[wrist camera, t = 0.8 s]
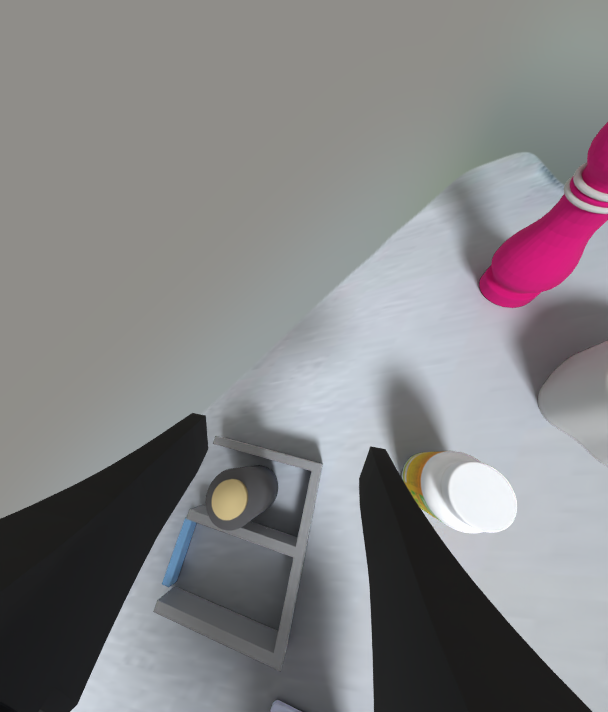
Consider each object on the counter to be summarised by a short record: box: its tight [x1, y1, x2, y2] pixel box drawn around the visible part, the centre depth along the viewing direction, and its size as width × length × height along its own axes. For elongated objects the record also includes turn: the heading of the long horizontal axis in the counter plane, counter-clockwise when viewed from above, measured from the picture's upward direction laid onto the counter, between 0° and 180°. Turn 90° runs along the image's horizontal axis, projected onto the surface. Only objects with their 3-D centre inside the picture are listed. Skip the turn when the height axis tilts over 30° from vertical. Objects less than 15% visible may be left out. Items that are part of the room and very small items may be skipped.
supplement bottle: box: [402, 451, 517, 533], centre depth 20 cm, size 5×5×10 cm
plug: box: [206, 465, 278, 531], centre depth 22 cm, size 4×4×8 cm
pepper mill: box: [479, 122, 608, 308], centre depth 22 cm, size 7×7×20 cm
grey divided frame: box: [153, 436, 323, 672], centre depth 24 cm, size 15×13×2 cm
